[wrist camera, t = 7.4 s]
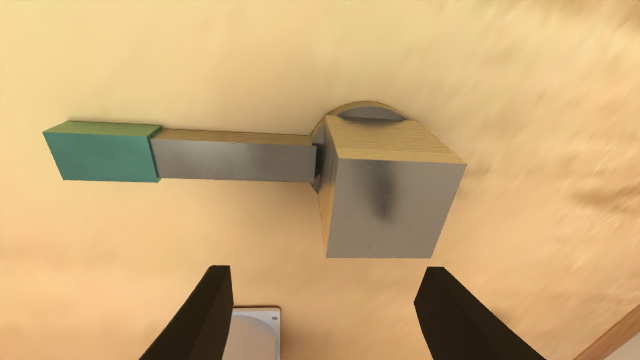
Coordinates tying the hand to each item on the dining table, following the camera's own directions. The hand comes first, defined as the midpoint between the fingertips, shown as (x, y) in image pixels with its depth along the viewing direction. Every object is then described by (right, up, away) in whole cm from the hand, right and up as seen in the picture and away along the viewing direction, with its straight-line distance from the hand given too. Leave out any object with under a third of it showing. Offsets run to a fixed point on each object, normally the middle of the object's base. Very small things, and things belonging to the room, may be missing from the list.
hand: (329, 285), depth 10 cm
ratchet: (-4, +6, +7) cm, 10 cm away
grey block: (+2, +5, +7) cm, 9 cm away
